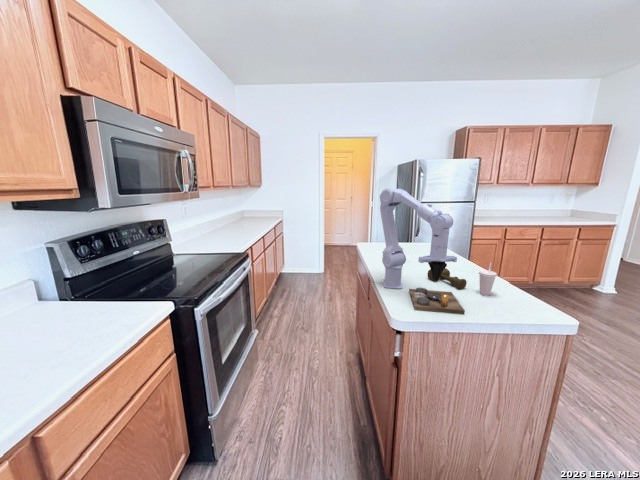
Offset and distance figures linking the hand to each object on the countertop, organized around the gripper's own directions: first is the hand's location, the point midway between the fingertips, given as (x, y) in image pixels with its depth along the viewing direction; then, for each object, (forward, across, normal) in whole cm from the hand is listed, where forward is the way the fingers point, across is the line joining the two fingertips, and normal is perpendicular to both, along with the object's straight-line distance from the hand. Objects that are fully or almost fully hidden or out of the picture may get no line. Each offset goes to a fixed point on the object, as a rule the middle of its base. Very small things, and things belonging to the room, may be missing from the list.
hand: (435, 279), depth 102 cm
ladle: (+7, 0, -3) cm, 8 cm away
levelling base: (+9, 0, -1) cm, 9 cm away
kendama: (+10, +17, +20) cm, 28 cm away
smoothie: (+9, +26, +4) cm, 28 cm away
